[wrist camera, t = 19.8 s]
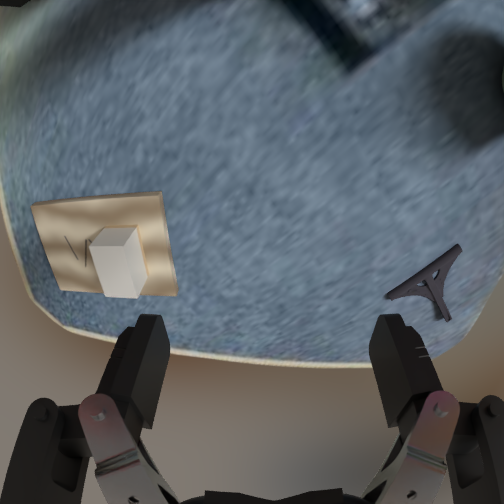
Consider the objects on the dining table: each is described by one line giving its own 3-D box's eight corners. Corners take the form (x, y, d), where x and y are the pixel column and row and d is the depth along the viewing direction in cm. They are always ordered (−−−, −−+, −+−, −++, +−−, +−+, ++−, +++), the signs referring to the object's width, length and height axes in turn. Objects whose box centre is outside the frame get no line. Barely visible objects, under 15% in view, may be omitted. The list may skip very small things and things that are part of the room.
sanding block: (106, 225, 39) (88, 246, 34) (138, 224, 39) (123, 246, 34) (119, 273, 43) (105, 296, 38) (149, 273, 43) (137, 298, 38)
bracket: (414, 333, 52) (419, 343, 50) (386, 290, 46) (391, 301, 44) (473, 292, 47) (480, 301, 44) (455, 241, 41) (464, 250, 39)
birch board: (35, 202, 38) (30, 206, 37) (161, 191, 38) (158, 195, 36) (64, 284, 47) (60, 290, 46) (178, 289, 46) (176, 296, 45)
